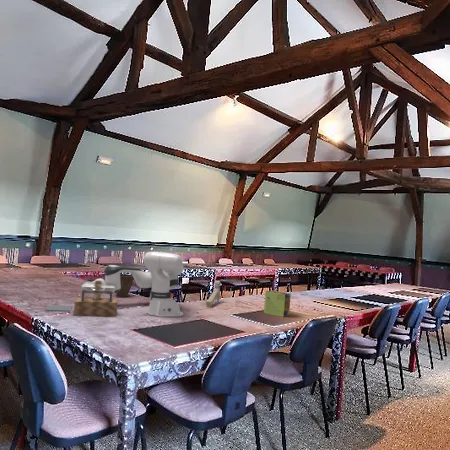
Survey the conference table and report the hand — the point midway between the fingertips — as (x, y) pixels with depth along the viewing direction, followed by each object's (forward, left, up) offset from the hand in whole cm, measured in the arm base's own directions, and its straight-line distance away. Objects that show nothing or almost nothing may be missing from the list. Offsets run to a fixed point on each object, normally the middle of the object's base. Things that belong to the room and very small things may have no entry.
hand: (97, 291), depth 257 cm
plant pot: (-16, -60, -13) cm, 63 cm away
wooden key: (0, -1, -9) cm, 9 cm away
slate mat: (+22, -8, -13) cm, 27 cm away
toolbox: (0, +2, -13) cm, 13 cm away
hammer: (-82, -41, -13) cm, 93 cm away
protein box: (-122, -12, -13) cm, 123 cm away
